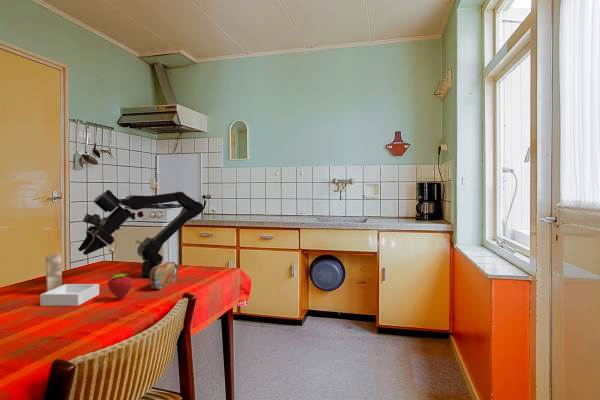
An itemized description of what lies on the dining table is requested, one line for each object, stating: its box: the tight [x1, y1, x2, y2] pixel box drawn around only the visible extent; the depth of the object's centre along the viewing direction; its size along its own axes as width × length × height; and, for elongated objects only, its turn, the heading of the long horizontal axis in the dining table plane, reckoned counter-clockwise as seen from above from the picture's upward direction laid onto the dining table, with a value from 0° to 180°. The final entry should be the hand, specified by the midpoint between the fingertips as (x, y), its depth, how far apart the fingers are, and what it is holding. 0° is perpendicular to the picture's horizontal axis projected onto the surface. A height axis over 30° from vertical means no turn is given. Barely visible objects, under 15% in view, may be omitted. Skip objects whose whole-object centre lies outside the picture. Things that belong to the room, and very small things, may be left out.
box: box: [39, 283, 100, 307], centre depth 115 cm, size 12×12×4 cm
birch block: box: [45, 253, 63, 292], centre depth 122 cm, size 4×4×13 cm
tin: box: [148, 261, 179, 290], centre depth 131 cm, size 15×3×8 cm, turn 168°
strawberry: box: [107, 271, 134, 301], centre depth 115 cm, size 6×8×10 cm
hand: (81, 252), depth 128 cm, fingers open, 9 cm apart
